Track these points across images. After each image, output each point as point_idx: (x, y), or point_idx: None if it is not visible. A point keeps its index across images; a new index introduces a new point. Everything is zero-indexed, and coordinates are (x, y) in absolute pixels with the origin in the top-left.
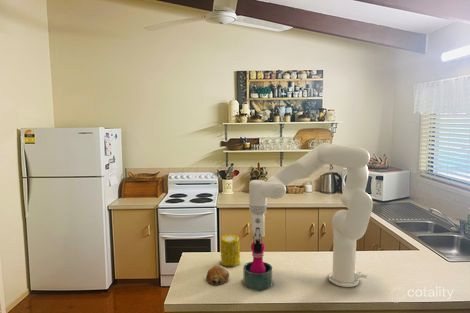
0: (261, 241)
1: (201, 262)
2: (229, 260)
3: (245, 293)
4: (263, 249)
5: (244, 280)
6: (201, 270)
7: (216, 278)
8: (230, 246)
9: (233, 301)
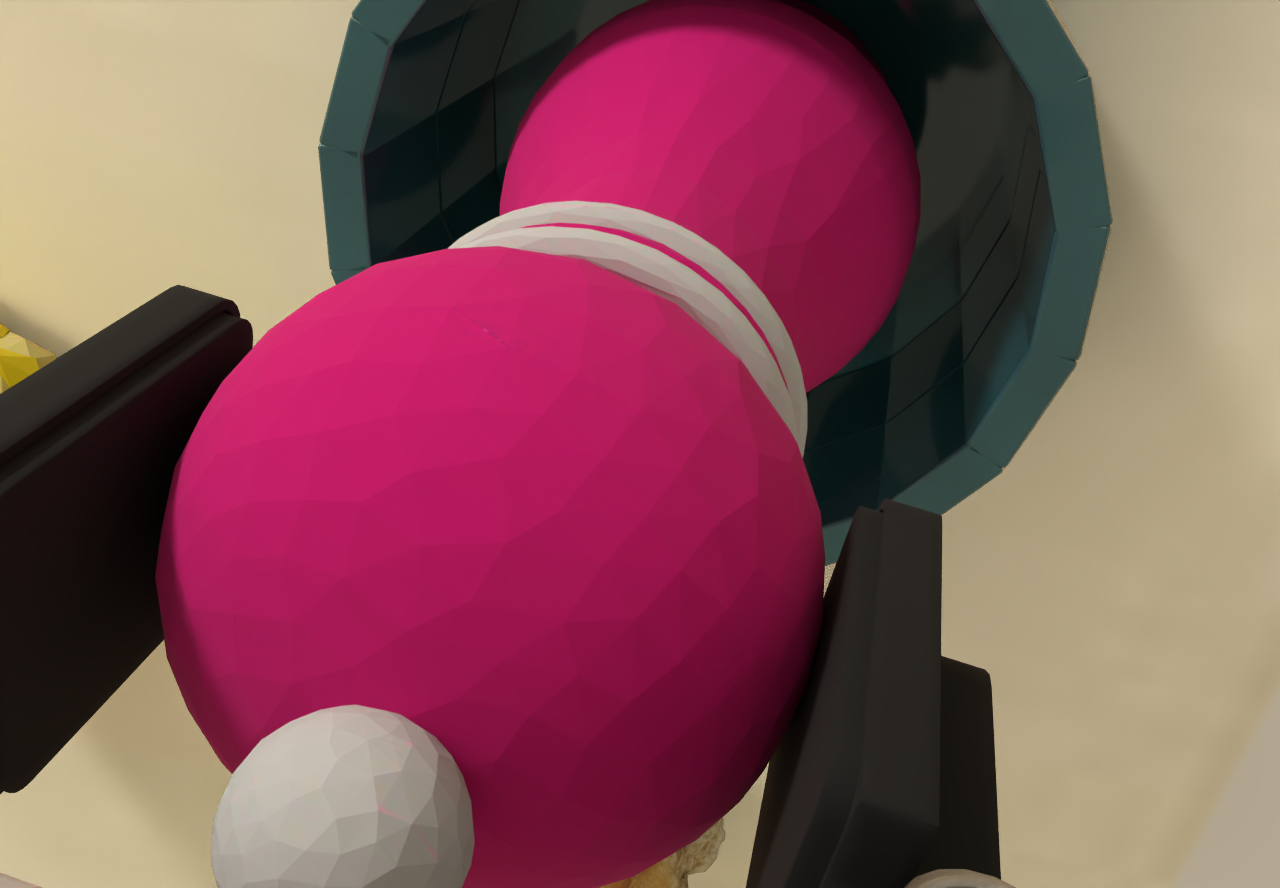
0: (92, 397)
1: (32, 797)
2: None
3: (1088, 463)
4: (750, 391)
5: None
6: None
7: (692, 864)
8: None
9: (1275, 692)
